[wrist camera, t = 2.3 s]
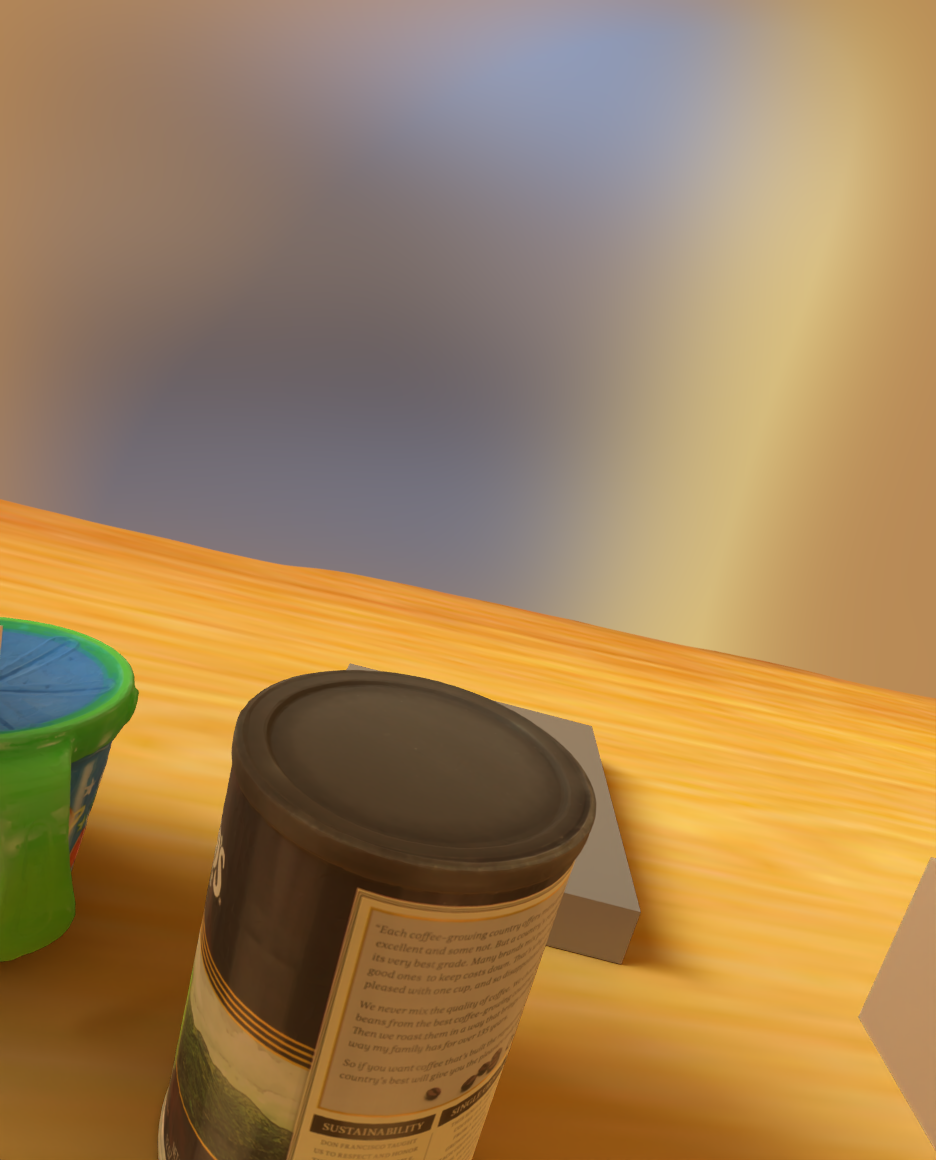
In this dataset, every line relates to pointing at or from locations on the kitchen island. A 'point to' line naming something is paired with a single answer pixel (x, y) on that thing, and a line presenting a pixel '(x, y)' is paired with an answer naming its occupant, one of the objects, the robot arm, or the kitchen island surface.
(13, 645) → the snack cup
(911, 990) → the robot arm
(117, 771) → the kitchen island surface
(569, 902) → the slate plinth
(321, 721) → the coffee can
